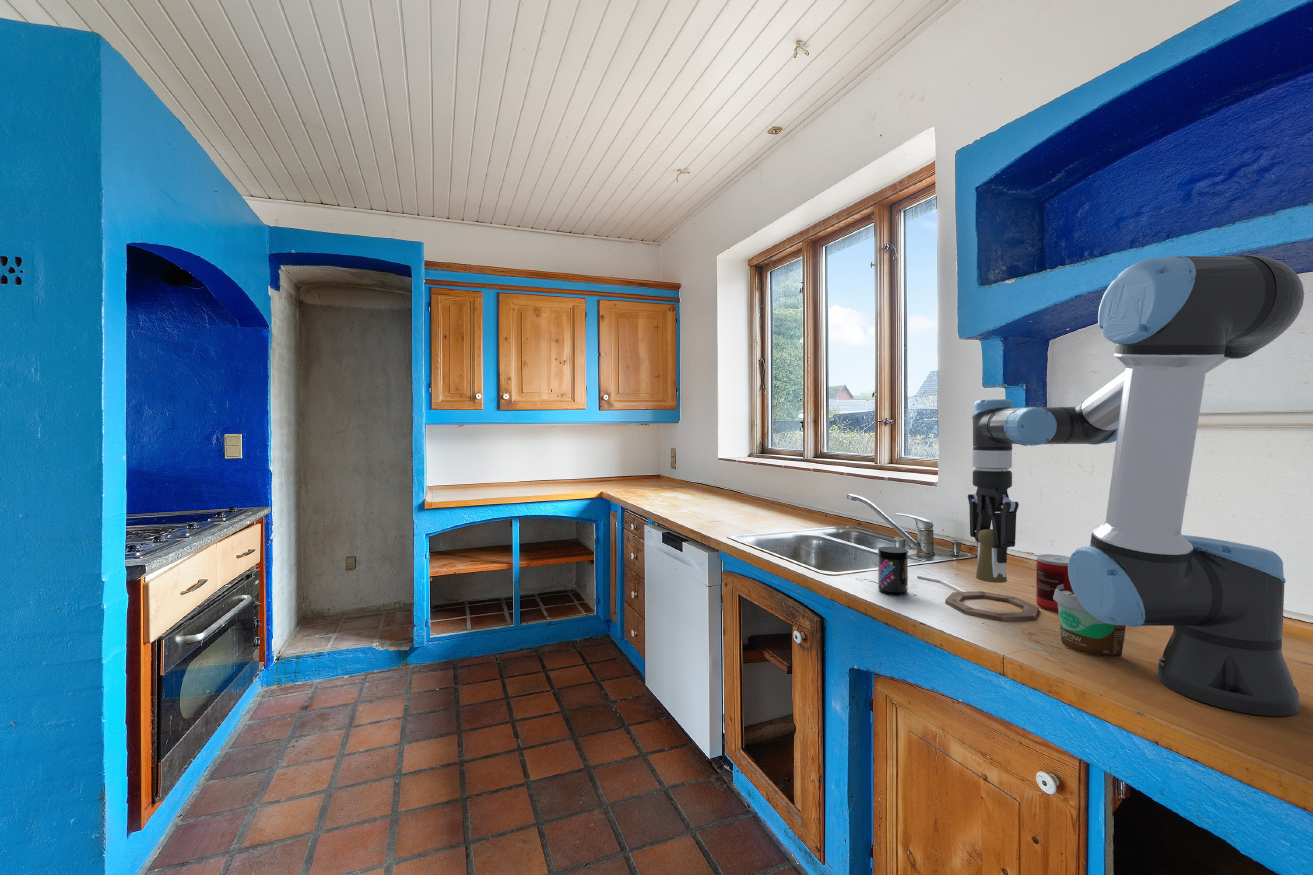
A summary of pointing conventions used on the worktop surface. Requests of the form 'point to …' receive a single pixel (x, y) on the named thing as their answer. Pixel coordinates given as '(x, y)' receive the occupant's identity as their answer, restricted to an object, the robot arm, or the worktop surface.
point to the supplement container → (893, 570)
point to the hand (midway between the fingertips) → (991, 573)
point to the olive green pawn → (987, 558)
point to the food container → (1086, 628)
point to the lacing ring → (1026, 614)
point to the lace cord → (941, 582)
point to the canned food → (1051, 579)
